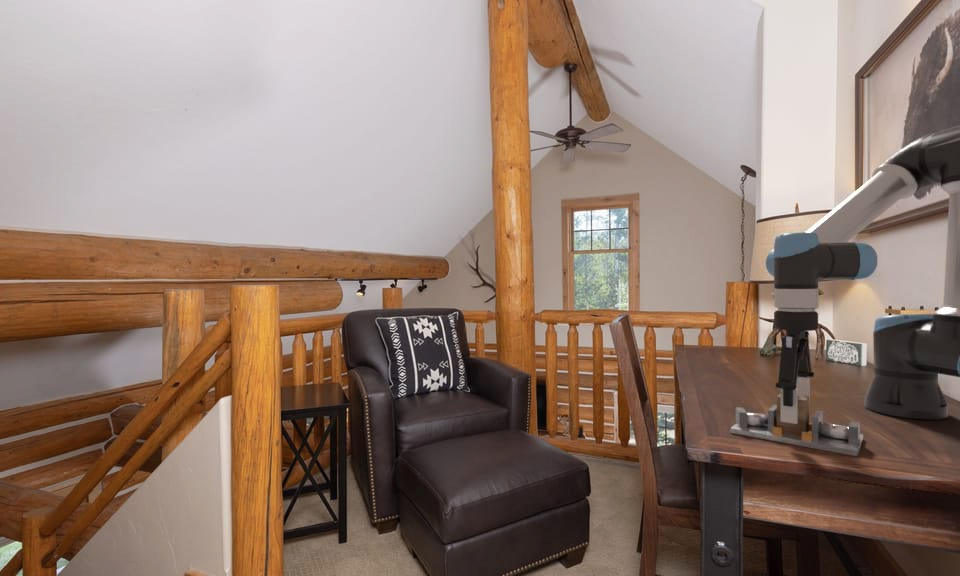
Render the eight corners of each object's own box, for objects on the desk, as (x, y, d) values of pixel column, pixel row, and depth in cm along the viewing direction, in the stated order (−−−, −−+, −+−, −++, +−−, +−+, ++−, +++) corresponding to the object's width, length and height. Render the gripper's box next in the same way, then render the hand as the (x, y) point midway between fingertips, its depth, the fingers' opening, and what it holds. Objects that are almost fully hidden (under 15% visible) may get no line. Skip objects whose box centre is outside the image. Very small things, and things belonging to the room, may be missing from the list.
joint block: (809, 430, 101) (809, 393, 101) (805, 435, 98) (805, 397, 98) (780, 426, 104) (781, 390, 104) (776, 430, 101) (776, 393, 101)
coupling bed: (863, 439, 98) (863, 413, 98) (857, 456, 89) (857, 427, 89) (745, 420, 112) (745, 397, 112) (730, 432, 103) (730, 408, 103)
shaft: (766, 424, 106) (766, 409, 106) (771, 429, 102) (771, 414, 102) (735, 422, 108) (735, 407, 108) (739, 427, 104) (739, 412, 104)
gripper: (786, 305, 112) (786, 399, 113) (759, 313, 94) (759, 425, 94) (827, 306, 107) (827, 405, 108) (806, 314, 89) (806, 433, 89)
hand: (795, 414), depth 101 cm, fingers open, 13 cm apart
